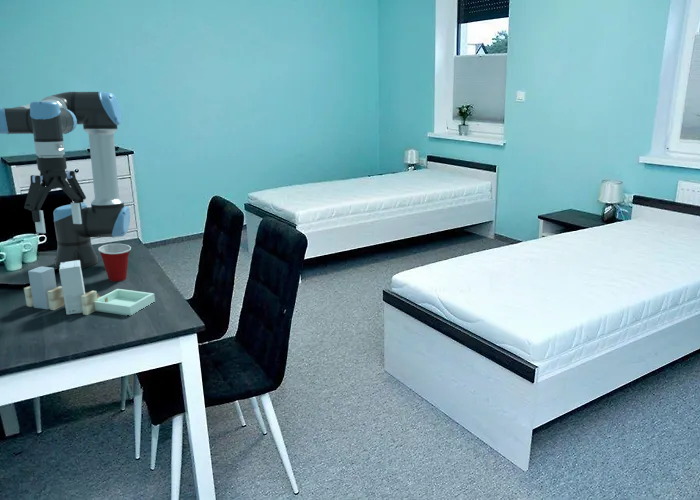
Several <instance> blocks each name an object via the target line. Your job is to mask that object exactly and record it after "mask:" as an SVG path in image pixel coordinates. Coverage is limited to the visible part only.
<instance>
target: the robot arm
mask: <svg viewBox="0 0 700 500" xmlns="http://www.w3.org/2000/svg"><path fill="white" fill-rule="evenodd" d="M122 118H123V114H122V109H121V105H120V103H119V101H118V98H117V96H116V95H114V93H112V92H108V91H106V92H105V91H65V92H60V93H56V94H53V95H48V96H45V97H43V98H42V99H41V100H40V101H39V100H38V101H37V100H36V101H31V102H30V103H28V104H24V105H19V106H15V107H14V106H13V107H1V108H0V134H3V135H5V134H6V135H13V134H15V135H23V134H24V135H25V134H27V135H29V134H32V135H33V141H34V150H35V151H34V152H35V156H38V157H37V158H36V166H37V170H38V171H39V172H40V173H39V175H38V174H37V175H36V174H34V175H33V174H32V175H30V184H29V186H28V187H29V188H28V191H27V196H26V199H25V202H24V206H23V207H24V208H23V209H25V210H28V211H31V215H32V216H31V217H32V221H33V223H34V224H35V225H34V226H35V231H36V232H35V233H38V234H46V233H47V232H46V223H45V218H44V210H41V208H42V206H43V204H44V202H45V201H46V198H47V197H48V195H49V193H50V192H51V191H52V190H56V189H61V190H62V191H63V193H65V195H66V196H67V197H68V198H69V199H70V200H71V201H72V202H70V204H66V205H61V206H59V207H56V208H55V209H54V210H53V223H54V230H55V236H56V241H57V250H56V255H55V258H54V266H55V265H56V266H57V267H59V268H58V269H60V263H61V262H69V261H76V260H80V264H81V269H84V268H89V267H92V266H94V265H96V264H97V263H98V262H99V256H98V254H97V253H96V251H95V249H94V247H93V244H92V240H91V238H119V237H124V236H125V235H126V234H127V233H128V231H129V228H130V223H131V211H130V208H129V206H126V205H125V202H124V200H123V199H122V198H120V193H119V191H120V190H119V181H118V168H117V159H116V158H117V157H116V147H115V146H116V145H115V133H116V132H117V131H118V126H119V125H121V124H122V123H123V119H122ZM77 125H82V127H83V129H82V130H83V131H84V132H86V134H88V143H89V153H90V162H91V171H92V172H91V174H92V182H93V184H92V185H93V191H94V199H93V200H92V201H91V202H90V206H88V205H87V204H86V203H85V202H84V201H85V200H86V199H87V196H86V195H85V193H84V190H83V189H82V187H81V185H80V183H79V181H78V180H77V177H76V173H75V171H74V170H67V158H66V157H65V154H66V153H65V152H66V151H65V143H64V142H65V141H64V135H67V134H69V133H72V132H73V131H74V130H75V129H76V128H77ZM56 266H55V267H56ZM57 267H56V268H57Z"/></svg>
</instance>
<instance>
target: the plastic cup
mask: <svg viewBox="0 0 700 500" xmlns="http://www.w3.org/2000/svg"><path fill="white" fill-rule="evenodd" d="M97 250H98V252H99V254H100V256H101V259H102V262H103V266H104V269H105V272H106V274H107V275H106V276H107V278H108V279H109V280H108V281H110V282H122V281H124V280H126V279H127V277H128V276H127V274H128V265H129V255H130V252H131V250H132V246H130V245H129V244H124V243H107V244H103V245H101V246H98V249H97Z"/></svg>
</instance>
